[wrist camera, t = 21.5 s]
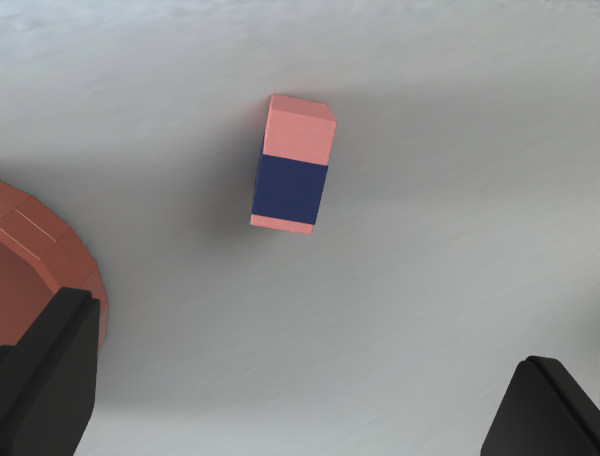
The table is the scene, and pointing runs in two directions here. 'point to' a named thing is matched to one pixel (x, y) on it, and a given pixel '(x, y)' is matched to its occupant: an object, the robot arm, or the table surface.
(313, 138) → the eraser
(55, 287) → the bowl
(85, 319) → the robot arm
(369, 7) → the table surface
